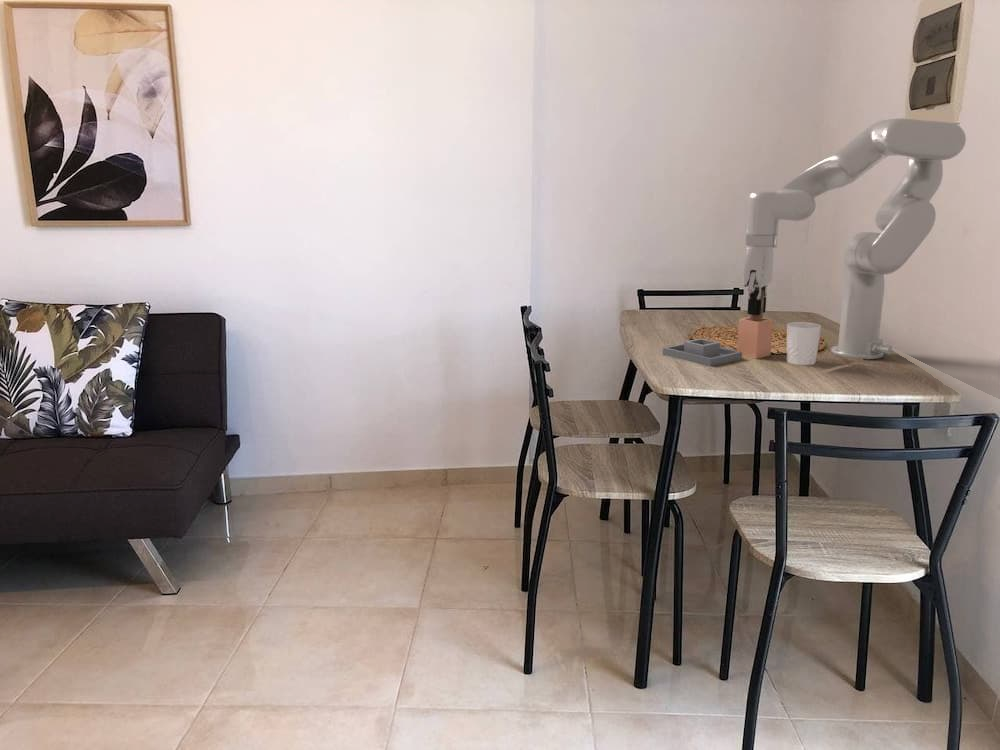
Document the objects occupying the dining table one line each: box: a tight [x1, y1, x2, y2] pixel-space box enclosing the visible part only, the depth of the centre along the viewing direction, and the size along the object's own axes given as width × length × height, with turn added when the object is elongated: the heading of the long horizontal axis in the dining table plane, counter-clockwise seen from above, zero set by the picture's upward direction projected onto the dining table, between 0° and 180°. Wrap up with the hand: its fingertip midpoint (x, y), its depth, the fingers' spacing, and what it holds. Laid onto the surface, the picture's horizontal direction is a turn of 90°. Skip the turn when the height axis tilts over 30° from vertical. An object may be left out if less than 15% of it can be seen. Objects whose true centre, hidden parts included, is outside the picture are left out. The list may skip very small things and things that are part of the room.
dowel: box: [749, 289, 765, 322], centre depth 203 cm, size 3×3×17 cm
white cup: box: [785, 321, 822, 366], centre depth 196 cm, size 8×8×10 cm
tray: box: [662, 337, 743, 367], centre depth 203 cm, size 16×12×4 cm
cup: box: [736, 316, 774, 359], centre depth 204 cm, size 6×6×10 cm
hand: (756, 312), depth 202 cm, fingers closed on dowel, 3 cm apart
